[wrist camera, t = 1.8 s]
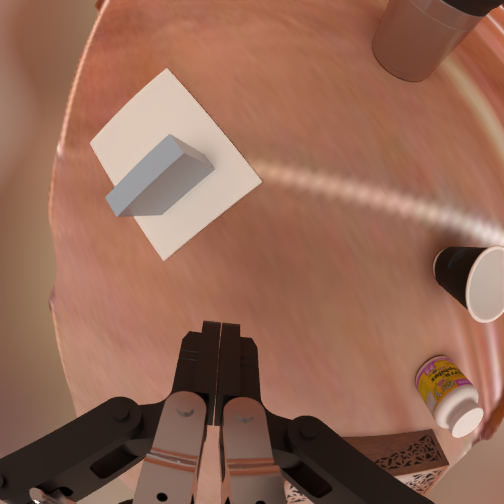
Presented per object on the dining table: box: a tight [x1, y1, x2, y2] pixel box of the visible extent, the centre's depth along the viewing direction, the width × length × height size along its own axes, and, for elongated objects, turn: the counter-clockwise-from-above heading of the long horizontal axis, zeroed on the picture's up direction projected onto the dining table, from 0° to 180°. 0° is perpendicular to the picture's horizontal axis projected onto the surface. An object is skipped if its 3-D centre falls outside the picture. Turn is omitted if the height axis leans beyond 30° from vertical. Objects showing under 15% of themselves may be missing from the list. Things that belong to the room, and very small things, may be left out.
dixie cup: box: [433, 246, 504, 323], centre depth 25 cm, size 8×8×11 cm
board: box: [90, 68, 263, 261], centre depth 34 cm, size 22×16×1 cm
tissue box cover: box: [282, 429, 449, 504], centre depth 32 cm, size 26×14×10 cm, turn 87°
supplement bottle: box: [416, 356, 483, 438], centre depth 26 cm, size 7×7×13 cm
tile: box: [105, 134, 215, 217], centre depth 29 cm, size 2×9×10 cm, turn 127°
